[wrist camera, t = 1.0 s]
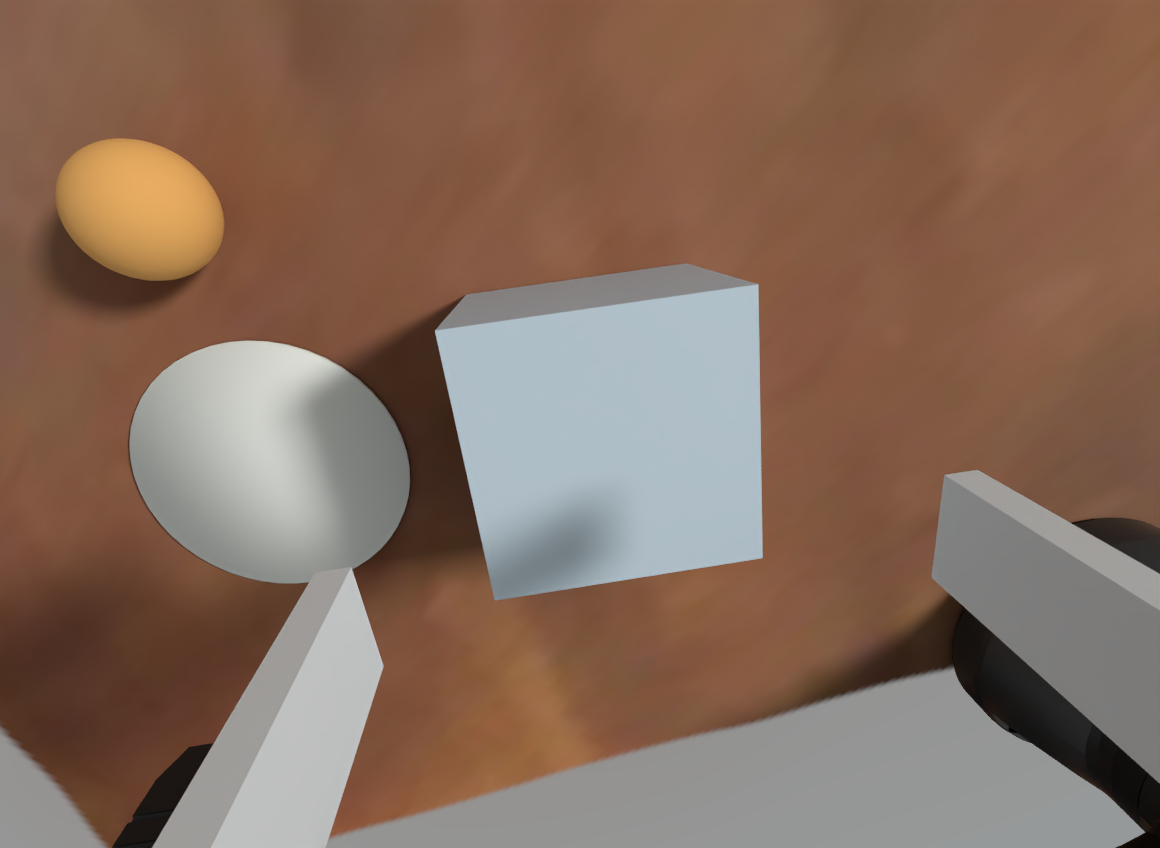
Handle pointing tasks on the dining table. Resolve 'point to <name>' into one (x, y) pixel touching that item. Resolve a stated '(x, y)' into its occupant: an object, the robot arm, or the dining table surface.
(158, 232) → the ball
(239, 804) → the robot arm
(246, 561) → the white plate
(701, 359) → the pale blue cuboid
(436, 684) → the dining table surface
